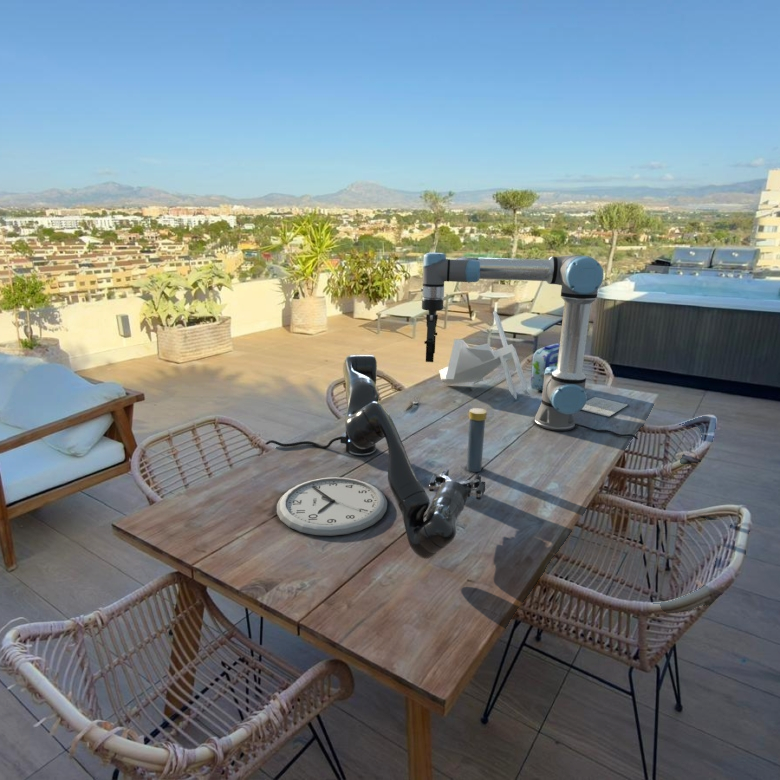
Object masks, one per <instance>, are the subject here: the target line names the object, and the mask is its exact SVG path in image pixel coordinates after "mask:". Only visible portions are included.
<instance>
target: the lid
mask: <svg viewBox="0 0 780 780" xmlns="http://www.w3.org/2000/svg"><path fill="white" fill-rule="evenodd" d="M487 415H488V411H487V410H486V409H483V408H478V407H473V408H470V409H469V410H468V418H469V420H470V419H472V420H476V421H483V420H485V421H486V419H487Z"/></svg>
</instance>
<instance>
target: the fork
mask: <svg viewBox="0 0 780 780" xmlns="http://www.w3.org/2000/svg"><path fill="white" fill-rule="evenodd" d="M420 399H421V397H420V396H415V397H414V398H413V400H412V404H410V405H408V407H407V408H406V410H405V411H409V410H411V409H412V408H413V406H414V405H415V404H419V402H420Z"/></svg>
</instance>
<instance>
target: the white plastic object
mask: <svg viewBox="0 0 780 780" xmlns="http://www.w3.org/2000/svg"><path fill="white" fill-rule="evenodd" d="M492 315H493V319H494V321H495V324H496V325H495V326H496V328H497V332H498V335H499V338H500V342H501V345H502V347H500V348H498V349H496V350H495V349H493V348H492V347H491V346H490V344H489V343H488V342H487V343H483V344H479V345H473V346H469V345H468V343H466V342H465V340H464V339H463V338H460V339H458V338H454V340H453V344H452V349H451V353H450V357H449V362H448V366H446V367H444V368H442V369H440V370H439V371H438V372H439V376H440V381H442V383H443V384H444V385H445V386H449V385H458V384H467V383H468V384H469V383H473V384H477V383H480V382H482V381H484V378H485V377H486V376H487V375H489V374H490V373H492V372H494V371H495V370H496V369H497V368H499V367H500V366H502V370H503V373H504V376H505V380H506V383H507V386H508V390H509V393H510V394H511V395H512V397H513V398H514V399H515V400H517V392H516V391H517V390H516V388H515V385H514V381H513V378H512V375H511V371H510V369H509V365H508V361H510V360H513V363H514V366H515V369H516V372H517V376H518V380H519V382H520V385H521V389H522V391H523V393H524V395H525V396H526V397H528V396H531V395H530V390H529V388H528V387H529V386H528V384H527V381H526V378H525V375H524V371H523V369H522V368H523V367H522V366H521V362H520V359H519V355H518V352H517V349H516V347H515V346H514V345H513V343H511V344H508V341H507V337H506V334H505V331H504V328H503V325H502V321H501V318H500V315H499V314H498V312H497V311H496V310H495V311H492Z"/></svg>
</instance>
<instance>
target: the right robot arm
mask: <svg viewBox="0 0 780 780" xmlns="http://www.w3.org/2000/svg"><path fill="white" fill-rule="evenodd" d="M422 264H423V265H422V288H420V292H421V293H422V294H421V296H422V299H421V309H422V310H423V311H428V313H426V316H425V320H426V340H424V342H423V343H424V344H425V362H426V363H434V359H435V357H434V356H435V353H436V338H437V337H436V336H438V332H437V329H436V328H437V324H438V318H439V315H438V314H437V311H438V312H439V311H442V310H444V299H443V298H444V297H445V282H447V283H449V282H452V283H453V282H457V283H468V284H470V283H477V282H479V281H480V280H495V281H497V280H499V281H500V280H501V281H526V282H527V281H531V282H546V283H547V284H548V285H557V286H561V289H560V298H561V299H562V300H563V303H564V305H563V313H562V322H561V330H560V339H559V344H560V346H559V355H558V364H557V366H553V367H547V368H546V369H545V373H544V382H543V390H542V394H541V402H540V405H539V407H538V410H537V411H536V413H535V417H534V424H535V425H536V426H537V427H539V428H542V429H544V430H549V431H556V432H567V431H572V430H574V429H575V428H576V426H577V427H579V428H580V427H581V428H583V429H587V430H590V431H594V432H601V433H610V434H613V435H615V436H618V437H632V438H634V439H635V440H639V438H638V436H636V435H635V434H631V433H624V434H621V433H618V432H615V431H613V430H610V429H598V428H593V427H591V426H586V425H583V424H579V423H576V418H575V417H576V416H575V414H576V413H579V412H580V411H582V410H581V409H582V408H583V407H584V406H585V404H586V401H588V397H587V392H586V389H585V388H586V383H587V382H586V381H587V375H586V374H585V373H584V371H583V369H584V361H585V355H586V347H587V339H588V338H587V337H588V330H589V324H590V318H591V317H590V316H591V308H592V303H593V302H594V301H596V300H597V298H598V294H599V293H598V291H599V288H601V285H602V284H603V281H604V269H603V267H602V265H601V264H600V262H599V261H597V260H596V259H595V258H594V257H592V256H587V255H581V254H574V255H573V254H572V255H565V256H551V257H549V258H548V259H545V258H544V259H543V258H542V259H541V258H540V259H539V258H501V257H500V258H497V257H496V258H495V257H494V258H492V257H466V256H460V257H457V258H455V259H451V258H449V259H448V258H447V257H446V253H444V252H427V253H425V254H424V255H423V263H422Z"/></svg>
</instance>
